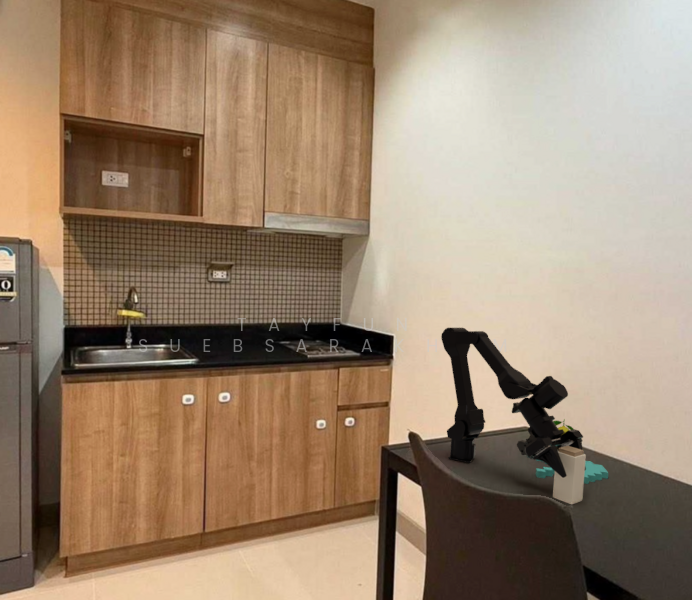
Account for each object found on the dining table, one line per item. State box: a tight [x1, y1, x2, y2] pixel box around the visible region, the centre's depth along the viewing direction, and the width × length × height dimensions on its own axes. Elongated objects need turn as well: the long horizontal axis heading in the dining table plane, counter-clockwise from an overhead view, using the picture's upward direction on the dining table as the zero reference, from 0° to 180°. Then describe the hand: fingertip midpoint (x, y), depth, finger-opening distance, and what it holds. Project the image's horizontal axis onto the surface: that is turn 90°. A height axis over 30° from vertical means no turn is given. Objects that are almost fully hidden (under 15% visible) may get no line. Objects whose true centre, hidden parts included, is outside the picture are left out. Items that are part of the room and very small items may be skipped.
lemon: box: [553, 418, 574, 435], centre depth 175 cm, size 7×6×10 cm
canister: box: [552, 446, 587, 505], centre depth 131 cm, size 5×5×12 cm
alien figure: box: [535, 460, 609, 485], centre depth 154 cm, size 20×2×20 cm
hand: (574, 473), depth 130 cm, fingers open, 9 cm apart
